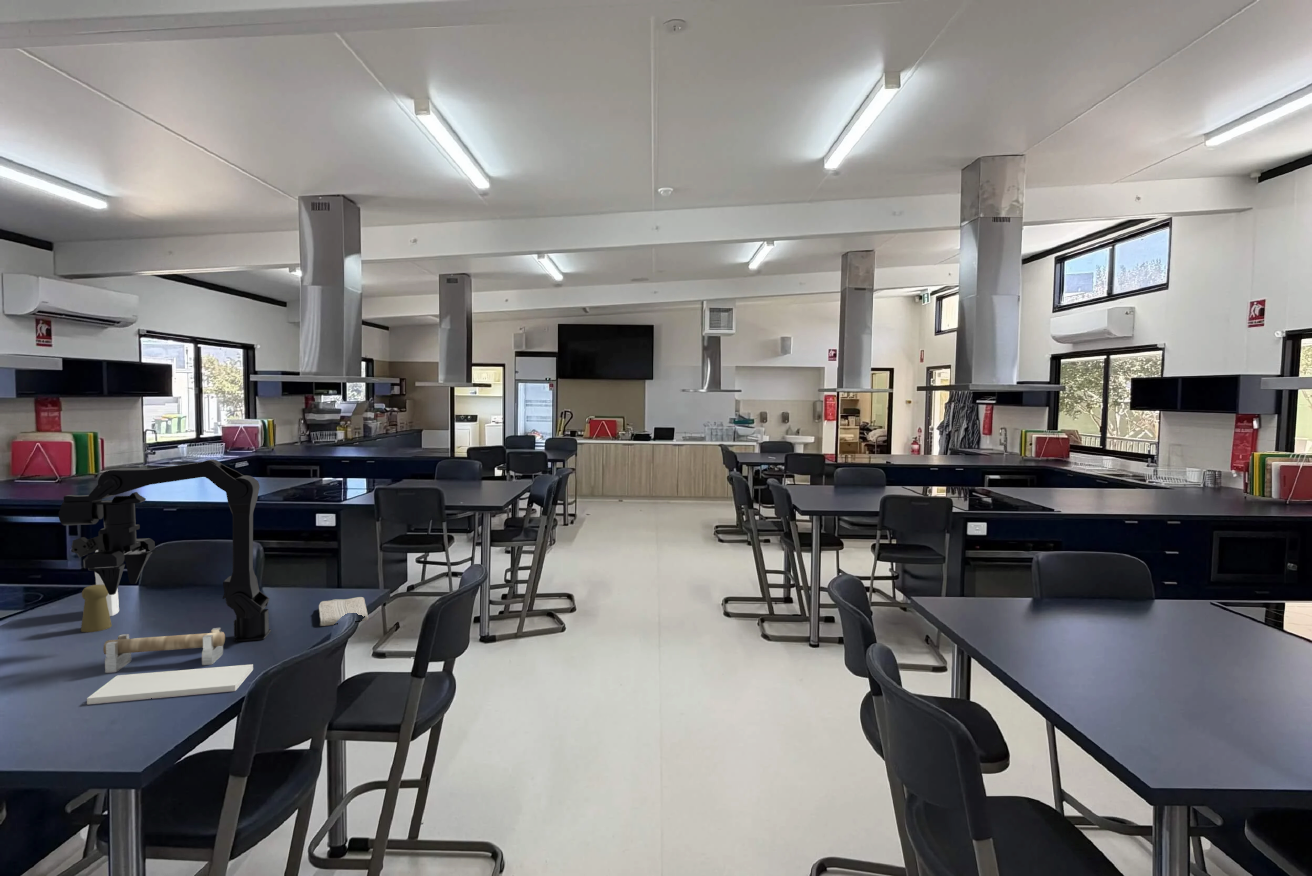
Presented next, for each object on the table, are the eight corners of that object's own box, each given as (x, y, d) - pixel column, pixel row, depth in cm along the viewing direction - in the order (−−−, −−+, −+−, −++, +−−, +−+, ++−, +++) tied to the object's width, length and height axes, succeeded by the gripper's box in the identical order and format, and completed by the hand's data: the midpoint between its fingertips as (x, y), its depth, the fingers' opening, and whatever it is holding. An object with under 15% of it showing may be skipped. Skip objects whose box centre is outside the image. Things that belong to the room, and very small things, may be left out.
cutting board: (253, 669, 143) (252, 664, 143) (235, 690, 133) (235, 684, 133) (117, 681, 137) (117, 675, 137) (87, 704, 126) (86, 698, 126)
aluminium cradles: (223, 653, 152) (222, 627, 152) (212, 664, 146) (211, 636, 146) (120, 661, 147) (119, 634, 146) (105, 672, 141) (104, 644, 140)
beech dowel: (225, 643, 150) (224, 630, 150) (220, 647, 148) (219, 634, 147) (110, 651, 145) (110, 638, 145) (103, 656, 142) (103, 642, 142)
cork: (93, 633, 164) (92, 589, 164) (74, 631, 166) (72, 587, 165) (117, 625, 170) (116, 583, 170) (98, 623, 172) (97, 581, 171)
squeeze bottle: (96, 618, 175) (121, 614, 179) (94, 544, 174) (118, 541, 178) (93, 610, 182) (117, 606, 186) (91, 538, 181) (115, 536, 185)
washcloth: (363, 604, 192) (363, 593, 192) (369, 622, 176) (369, 611, 176) (318, 609, 187) (317, 599, 186) (319, 629, 171) (319, 617, 171)
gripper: (101, 517, 160) (104, 580, 161) (52, 532, 142) (56, 603, 143) (154, 515, 163) (157, 577, 164) (113, 529, 145) (117, 599, 146)
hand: (123, 588), depth 154 cm, fingers open, 9 cm apart
